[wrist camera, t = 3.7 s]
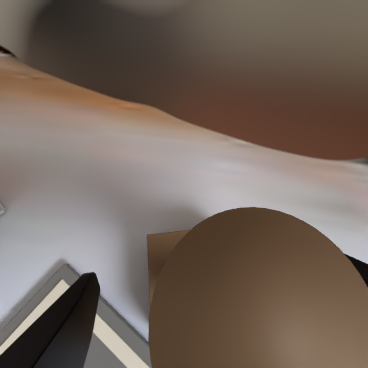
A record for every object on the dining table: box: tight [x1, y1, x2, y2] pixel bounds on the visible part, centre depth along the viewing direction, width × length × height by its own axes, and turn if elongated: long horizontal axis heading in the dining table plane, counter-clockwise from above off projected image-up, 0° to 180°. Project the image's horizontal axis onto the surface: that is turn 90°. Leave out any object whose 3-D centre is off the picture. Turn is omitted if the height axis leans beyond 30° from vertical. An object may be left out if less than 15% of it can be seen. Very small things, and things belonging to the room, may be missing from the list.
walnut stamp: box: [147, 207, 368, 368], centre depth 9 cm, size 6×6×12 cm
